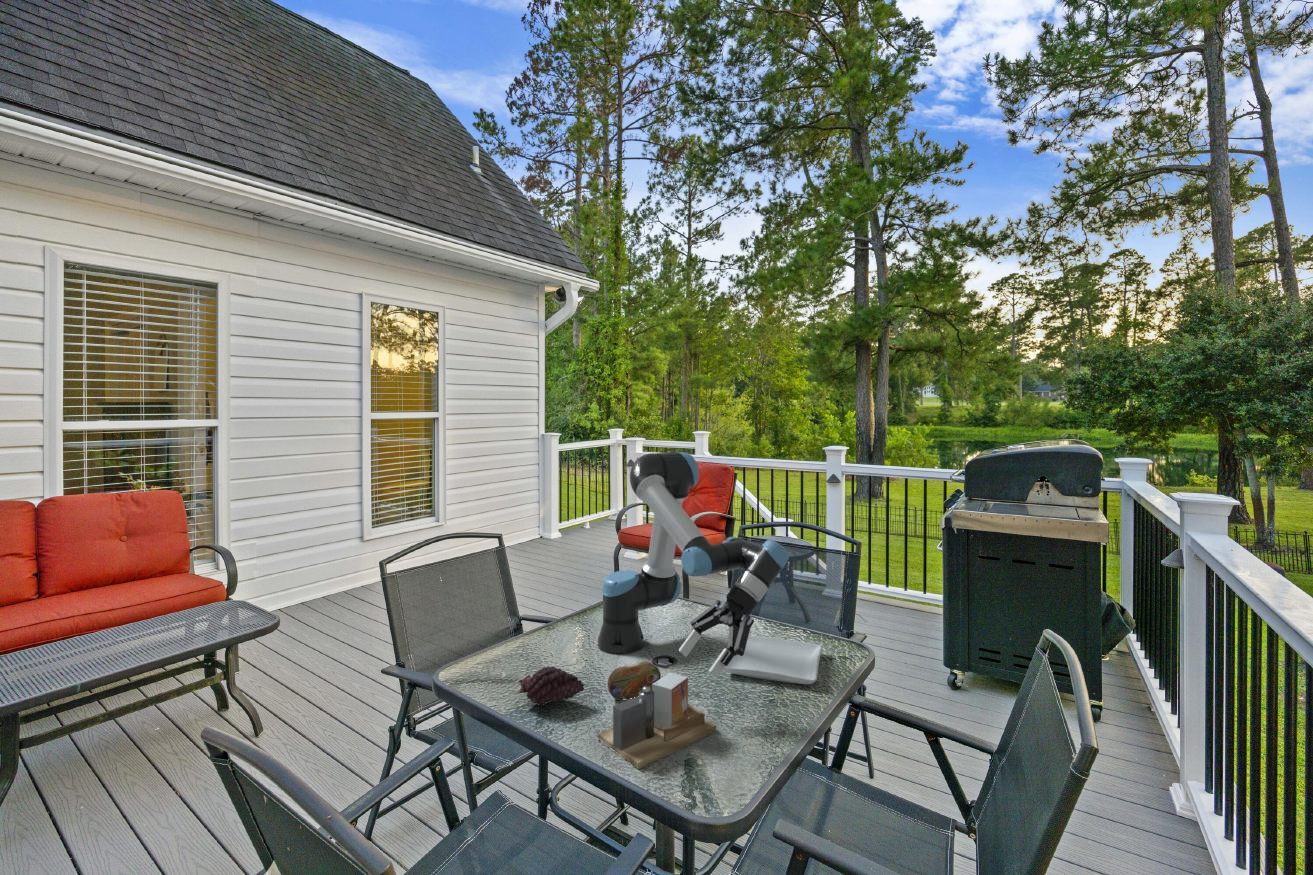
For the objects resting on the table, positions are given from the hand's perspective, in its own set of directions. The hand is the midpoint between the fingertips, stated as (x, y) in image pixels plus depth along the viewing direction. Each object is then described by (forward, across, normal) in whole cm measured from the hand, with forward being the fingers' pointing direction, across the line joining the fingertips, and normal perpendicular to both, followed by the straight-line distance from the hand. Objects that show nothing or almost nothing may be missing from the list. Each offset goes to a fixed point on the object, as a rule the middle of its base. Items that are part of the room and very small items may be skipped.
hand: (696, 663), depth 147 cm
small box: (+15, +1, -4) cm, 15 cm away
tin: (+16, +20, -6) cm, 26 cm away
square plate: (-16, +16, -38) cm, 45 cm away
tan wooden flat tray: (+18, 0, -2) cm, 19 cm away
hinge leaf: (+22, -2, +3) cm, 22 cm away
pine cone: (+31, +26, +9) cm, 42 cm away
